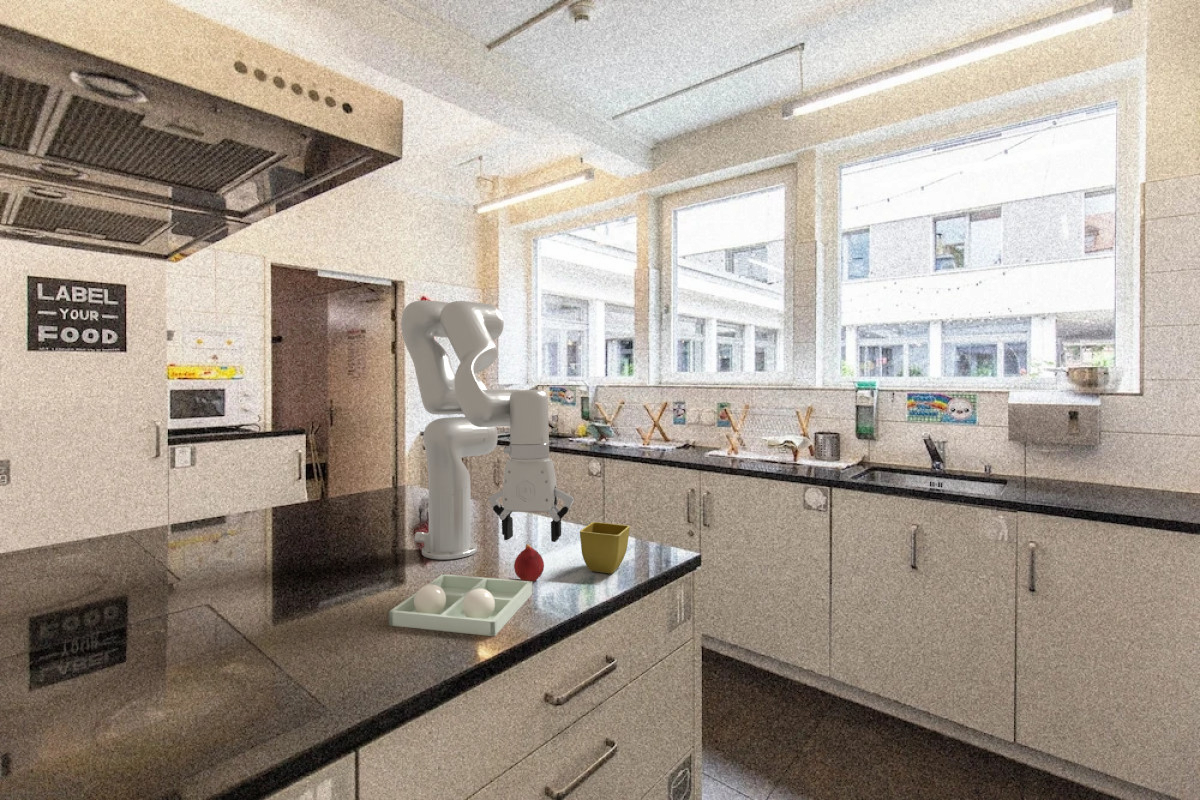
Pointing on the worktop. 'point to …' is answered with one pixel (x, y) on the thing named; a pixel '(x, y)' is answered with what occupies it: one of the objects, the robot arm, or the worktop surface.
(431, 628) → the egg tray
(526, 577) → the onion
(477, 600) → the egg near right
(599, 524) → the flower pot
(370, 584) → the worktop surface
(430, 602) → the egg near left
